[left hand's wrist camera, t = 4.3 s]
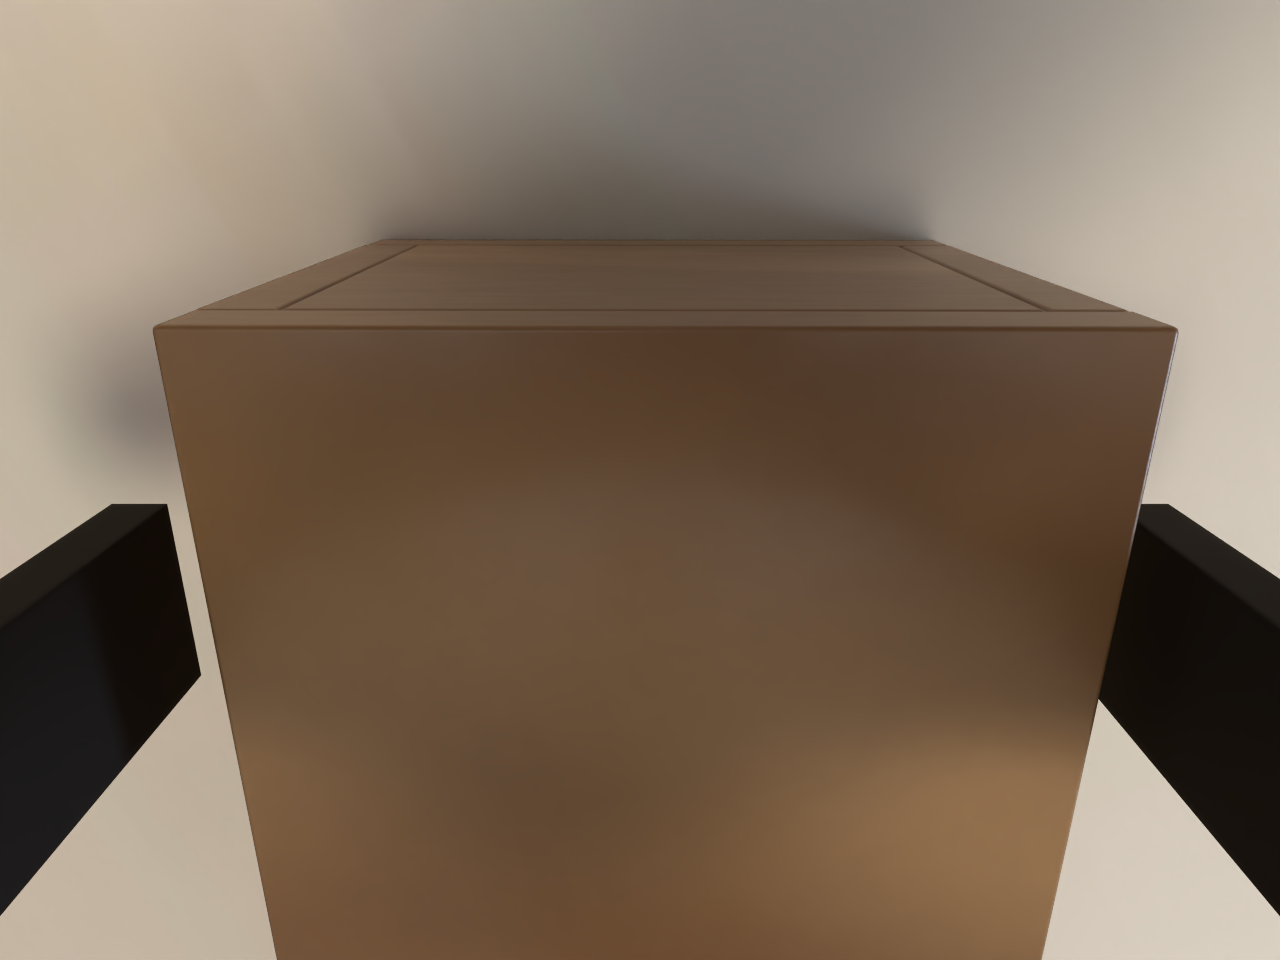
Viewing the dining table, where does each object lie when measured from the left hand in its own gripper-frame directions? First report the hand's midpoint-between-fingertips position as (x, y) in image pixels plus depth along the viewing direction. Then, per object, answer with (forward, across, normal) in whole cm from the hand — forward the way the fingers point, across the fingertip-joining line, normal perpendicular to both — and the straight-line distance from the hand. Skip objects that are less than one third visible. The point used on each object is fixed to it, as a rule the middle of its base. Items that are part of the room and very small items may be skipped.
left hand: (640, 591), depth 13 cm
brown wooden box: (+6, 0, -5) cm, 8 cm away
